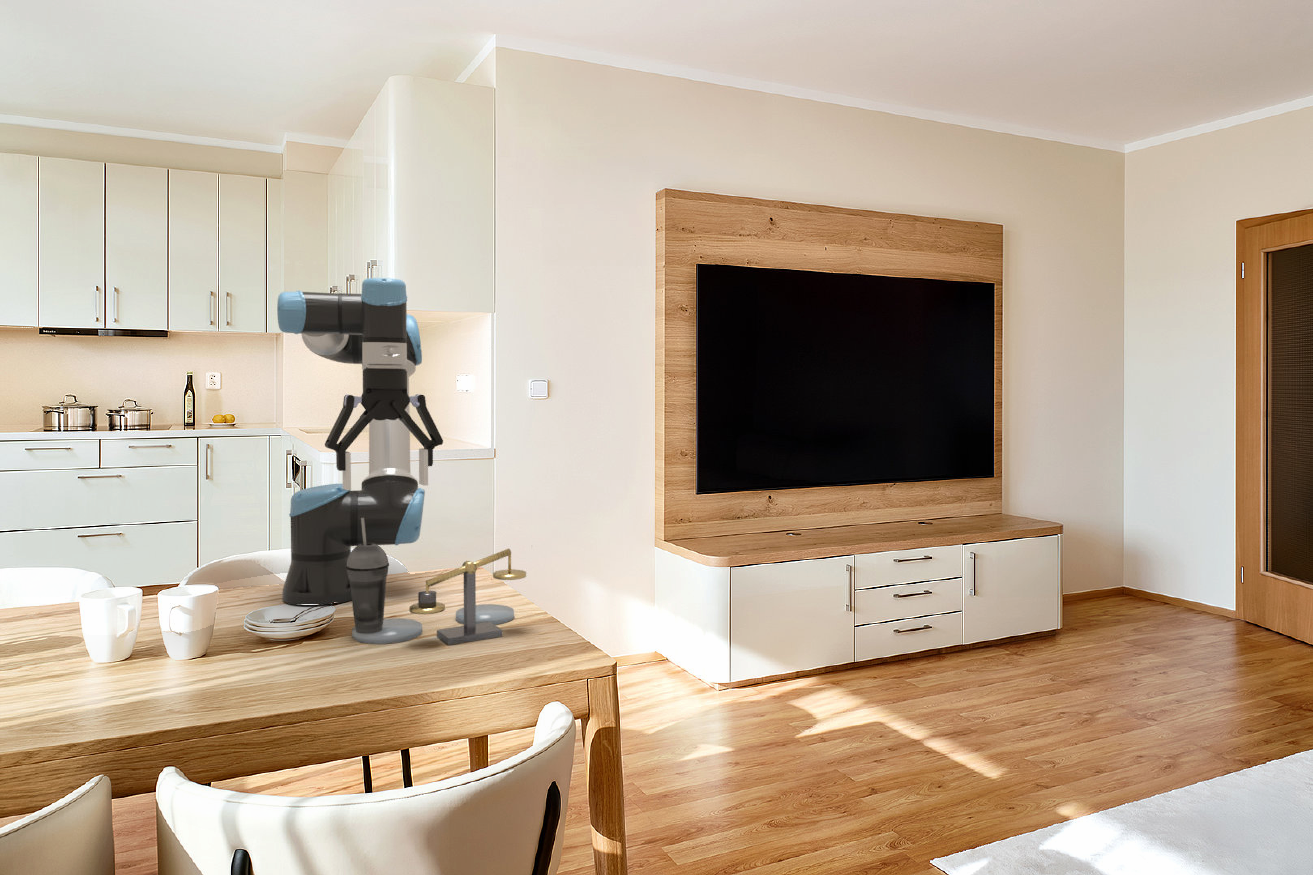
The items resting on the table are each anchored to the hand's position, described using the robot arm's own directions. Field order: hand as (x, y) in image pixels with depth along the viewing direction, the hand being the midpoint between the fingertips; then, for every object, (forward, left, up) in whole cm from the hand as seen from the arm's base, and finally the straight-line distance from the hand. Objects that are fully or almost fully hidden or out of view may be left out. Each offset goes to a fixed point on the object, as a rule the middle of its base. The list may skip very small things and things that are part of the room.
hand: (386, 487), depth 157 cm
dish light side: (-1, +19, -27) cm, 33 cm away
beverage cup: (0, -3, -26) cm, 26 cm away
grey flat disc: (0, 0, -27) cm, 27 cm away
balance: (+9, +12, -27) cm, 31 cm away
